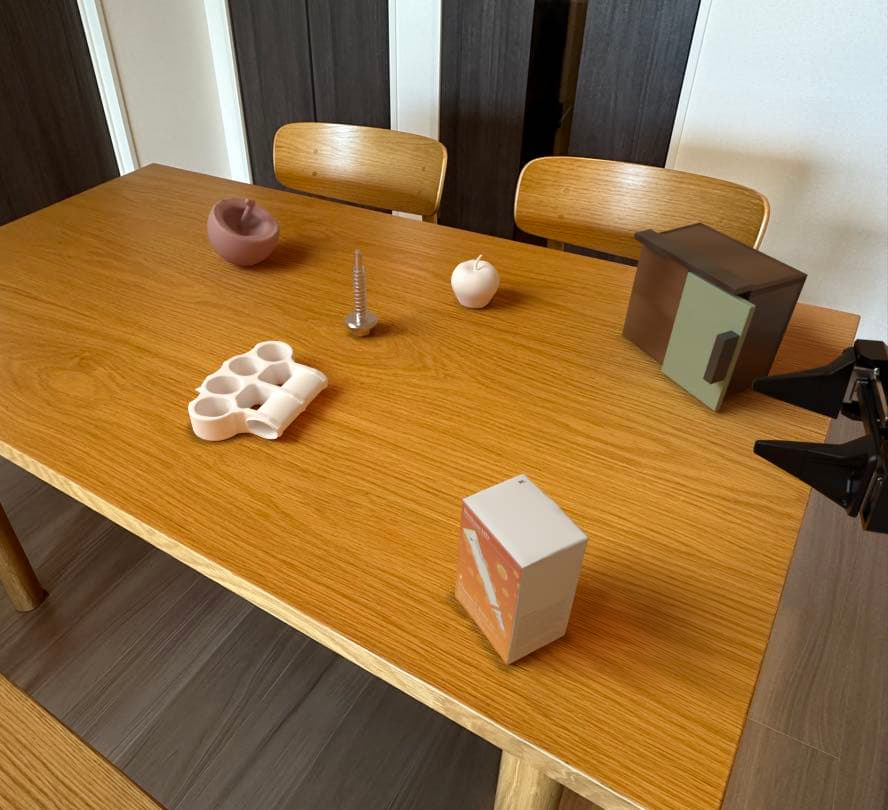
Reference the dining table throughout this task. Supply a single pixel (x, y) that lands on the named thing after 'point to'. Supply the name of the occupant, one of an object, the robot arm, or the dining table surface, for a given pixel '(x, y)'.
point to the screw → (360, 301)
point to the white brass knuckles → (255, 394)
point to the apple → (475, 283)
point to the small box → (518, 566)
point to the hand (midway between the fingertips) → (753, 413)
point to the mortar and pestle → (242, 231)
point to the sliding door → (706, 339)
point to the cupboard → (723, 266)
